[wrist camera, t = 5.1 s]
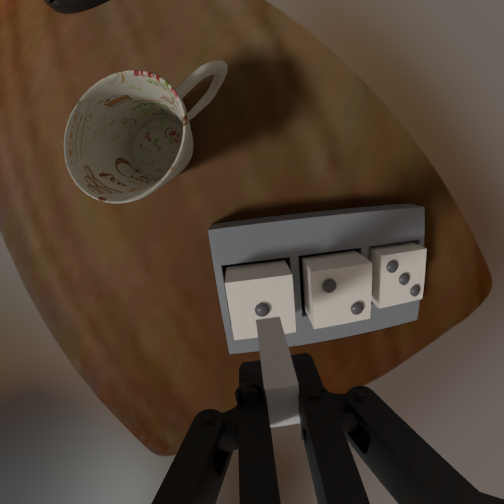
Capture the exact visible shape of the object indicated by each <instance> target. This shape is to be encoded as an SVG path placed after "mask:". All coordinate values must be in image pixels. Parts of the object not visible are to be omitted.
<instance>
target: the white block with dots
mask: <svg viewBox="0 0 504 504" xmlns="http://www.w3.org/2000/svg"><path fill="white" fill-rule="evenodd" d="M426 252H427V249H426V248H424V247H422V246H420V245H418V244H416V243H413V242H411V241H405V242H398V243H391V244H384V245H376V246H369V261H371V262H372V293H371V301H372V302H373V303H374V304H375V305H376V306H377V307H378V308H379V309H380V308H385V307H389V306H394V305H398V304H402V303H407V302H411V301H415V300H419V299H422V298H423V290H424V280H425V268H426Z"/></svg>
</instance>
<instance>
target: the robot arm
mask: <svg viewBox="0 0 504 504" xmlns="http://www.w3.org/2000/svg"><path fill="white" fill-rule="evenodd" d="M44 1H45V3H46V4H47V5H49V6H50V7H51V8H52V9H54V10H55V11H57V12H59V13H64V14H70V13H76V12H81V11H84V10H87V9H90V8H92V7H95V6H97V5H99V4H101V3H103V2H105V1H107V0H44ZM256 325H257V334H258V342H259V351H260V359H261V360H259V361H251V362H243V363H242V365H241V366H240V368H239V387H238V388H237V390H236V392H235V396H236V400H237V406H236V407H234V408H233V409H231V410H229V411H227V412H223V413H220V412H219V411H218V410H214V409H207V410H203V411H201V412H199V413H198V414H197V415H196V416H195V418H194V420H193V422H192V424H191V426H190V428H189V430H188V432H187V434H186V436H185V438H184V440H183V442H182V444H181V446H180V448H179V450H178V452H177V454H176V456H175V458H174V460H173V463H172V464H171V466H170V469H169V470H168V472H167V474H166V476H165V478H164V480H163V482H162V484H161V486H160V488H159V490H158V492H157V494H156V496H155V498H154V500H153V502H152V504H215V503H216V500H217V498H218V494H219V491H220V489H221V486H222V483H223V480H224V477H225V474H226V471H227V468H228V465H229V462H230V459H231V456H232V453H233V450H236V449H239V490H240V491H239V493H240V504H281V502H280V495H279V488H278V481H277V474H276V465H275V459H274V451H273V443H272V436H271V428H270V427H277V426H284V425H290V424H297V423H300V421H301V431H302V432H301V433H302V439H303V440H304V444H305V449H306V453H307V457H308V461H309V466H310V470H311V475H312V479H313V484H314V488H315V493H316V497H317V501H318V504H370V503H369V500H368V497H367V494H366V491H365V489H364V486H363V483H362V481H361V478H360V475H359V472H358V469H357V466H356V464H355V461H354V458H353V455H352V453H351V450H350V447H349V445H348V442H349V443H350V444H351V445H352V447H353V448H354V449H355V451H356V452H357V453H358V454H359V456H360V457H361V458H362V459H363V461H364V462H365V463H366V464H367V466H368V467H369V468H370V469H371V471H372V472H373V473H374V474H375V475H376V477H377V478H378V479H379V481H380V482H381V483H382V484H383V486H384V487H385V488H386V489H387V490H388V492H389V493H390V494H391V495H392V496H393V497H394V499H395V500H396V501H397V502H398V504H504V499H500V498H497V497H494V496H491V495H488V494H484V493H482V492H479V491H478V490H477V489H476V488H474V487H473V486H472V485H471V484H470V483H469V482H468V481H467V480H466V479H465V478H464V477H463V476H462V475H460V474H459V473H458V472H457V471H456V470H455V469H454V468H453V467H452V466H451V465H450V464H449V463H448V462H447V461H446V460H445V459H443V458H442V457H441V456H440V455H439V454H438V453H437V452H436V451H435V450H434V449H433V448H432V447H431V446H430V445H429V444H428V443H426V442H425V441H424V440H423V439H422V438H421V437H420V436H419V435H418V434H417V433H416V432H415V431H414V430H413V429H412V428H411V427H410V426H409V425H408V424H407V423H406V422H404V421H403V420H402V419H401V418H400V417H399V416H398V415H397V414H396V413H395V412H394V411H393V410H392V409H391V408H390V407H389V406H388V405H387V404H386V403H384V401H383V400H382V399H381V398H380V397H379V396H377V395H376V393H374V392H373V391H372V390H371V389H370V388H368V387H365V386H356V387H353V388H351V389H350V390H348V392H347V393H346V394H334V393H331V392H329V391H327V389H325V388H324V387H323V385H322V382H321V379H320V377H319V374H318V371H317V369H316V366H315V364H314V361H313V358H312V357H311V356H310V355H309V354H307V353H302V354H296V355H290V352H289V348H288V344H287V341H286V337H285V334H284V330H283V327H282V323H281V319H280V317H272V318H265V319H258V320H256ZM347 440H348V442H347Z"/></svg>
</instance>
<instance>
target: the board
mask: <svg viewBox="0 0 504 504" xmlns="http://www.w3.org/2000/svg"><path fill="white" fill-rule="evenodd" d="M208 233H209V240H210V246H211V253H212V259H213V265H214V271H215V277H216V283H217V289H218V295H219V300H220V306H221V311H222V317H223V322H224V328H225V333H226V338H227V344H228V349H229V354H236V353H245V352H254V351H259V342H258V338H250V339H241V340H234V336H233V330H232V325H231V319H230V313H229V307H228V301H227V295H226V289H225V276H226V273H225V267H224V265H230V264H238V263H246V262H254V261H262V260H270V259H278V258H286V263H287V265H288V267H289V269H290V271H291V273H292V277H293V291H294V306H295V322H296V332H294V333H287V334H285V337H286V341H287V344H288V347H291V346H297V345H303V344H309V343H315V342H321V341H326V340H332V339H337V338H342V337H347V336H352V335H356V334H361V333H366V332H370V331H374V330H379V329H383V328H387V327H391V326H395V325H399V324H403V323H406V322H410V321H414V320H417V317H418V310H419V302H420V299H419V300H415V301H411V302H407V303H402V304H398V305H394V306H389V307H385V308H380V309H379V308H378V307H377V306H376V305H375V304H374V303H373V302H372V301H371V312H370V319H366V320H361V321H356V322H351V323H346V324H341V325H335V326H330V327H324V328H319V329H314V328H313V326H312V324H311V321H310V319H309V317H308V315H307V313H306V311H305V307H304V302H301V288H300V273H299V259H298V256H301V255H309V254H317V253H324V252H332V251H339V250H347V249H350V251H354V250H355V251H356V252H358V253H359V254H361V255H362V256H363V257H365V258H366V259H368V260H369V246H376V245H384V244H391V243H398V242H405V241H411V242H413V243H416V244H418V245H420V246H422V247H424V235H425V207H422V206H418V205H414V204H409V203H407V204H394V205H381V206H369V207H358V208H347V209H336V210H326V211H316V212H307V213H297V214H288V215H280V216H271V217H262V218H254V219H246V220H238V221H230V222H223V223H215V224H211V226H210V228H209V229H208Z"/></svg>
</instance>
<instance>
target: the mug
mask: <svg viewBox="0 0 504 504" xmlns="http://www.w3.org/2000/svg"><path fill="white" fill-rule="evenodd" d="M227 71H228V66H227V64H226V63H225V62H224V61H221V60H217V61H212V62H209V63H206V64H204V65H202V66H201V67H199V68H198V69H197V70H195V71H194V72H193V73H192V74H191V75H190V76H188V77H187V78H186V79H185V80H184V81H183V82H182V83H181V84H180V85H179V86H178V87H177V88H176V89H175V88H174V87H173V86H172V85H171V84H170V83H169V82H168V81H166V80H165V79H163V78H162V77H160V76H158V75H156V74H153V73H150V72H147V71H141V70H128V71H122V72H118V73H115V74H112V75H110V76H108V77H105V78H104V79H102V80H100V81H99V82H97V83H96V84H95V85H93V86H92V87H91V88H90V89H89V90H88V91H87V92H86V93H85V94H84V95H83V96H82V97H81V99H80V100H79V101H78V103H77V104H76V106H75V107H74V109H73V111H72V113H71V115H70V118H69V120H68V123H67V127H66V131H65V137H64V155H65V161H66V165H67V168H68V170H69V173H70V175H71V177H72V178H73V180H74V181H75V183H76V184H77V185H78V187H79V188H80V189H81V190H82V191H84V192H85V193H86V194H88V195H89V196H91V197H93V198H95V199H97V200H100V201H103V202H107V203H127V202H132V201H135V200H138V199H141V198H143V197H146V196H148V195H149V194H151V193H153V192H154V191H156V190H157V189H159V188H160V187H162V186H163V185H164V184H166V183H167V182H168V181H170V180H171V179H173V178H174V177H175V176H177V175H178V174H180V173H181V172H182V171H183V170H184V169H185V168H186V166H187V165H188V163H189V162H190V160H191V157H192V154H193V149H194V142H193V136H192V132H191V127H190V123H189V121H190V120H191V119H192V118H193V117H195V116H196V115H197V114H198V113H199V112H200V111H201V110H202V109H204V108H205V107H206V106H207V105H208V104H209V103H210V102H211V101H212V100H213V98H214V97H215V95H216V93H217V92H218V90H219V88H220V87H221V85H222V83H223V81H224V79H225V77H226V75H227ZM210 75H214V77H213V80H212V82H211V84H210V86H209V88H208V90H207V92H206V93H205V94H204V95H203V96H202V98H201V99H200V100H199V101H198V102H197V103H196V105H195V106H194V107H193V108H192V109H191V110H190V111H189V112H188V113H187V111H186V108H185V105H184V103H183V100H182V98H183V97H184V96H185V95H186V94H187V93H188V92H189V91H190V90H191V89H192V88H193V87H194V86H196V85H197V84H198V83H199V82H200V81H201V80H203V79H204V78H206V77H208V76H210Z"/></svg>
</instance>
